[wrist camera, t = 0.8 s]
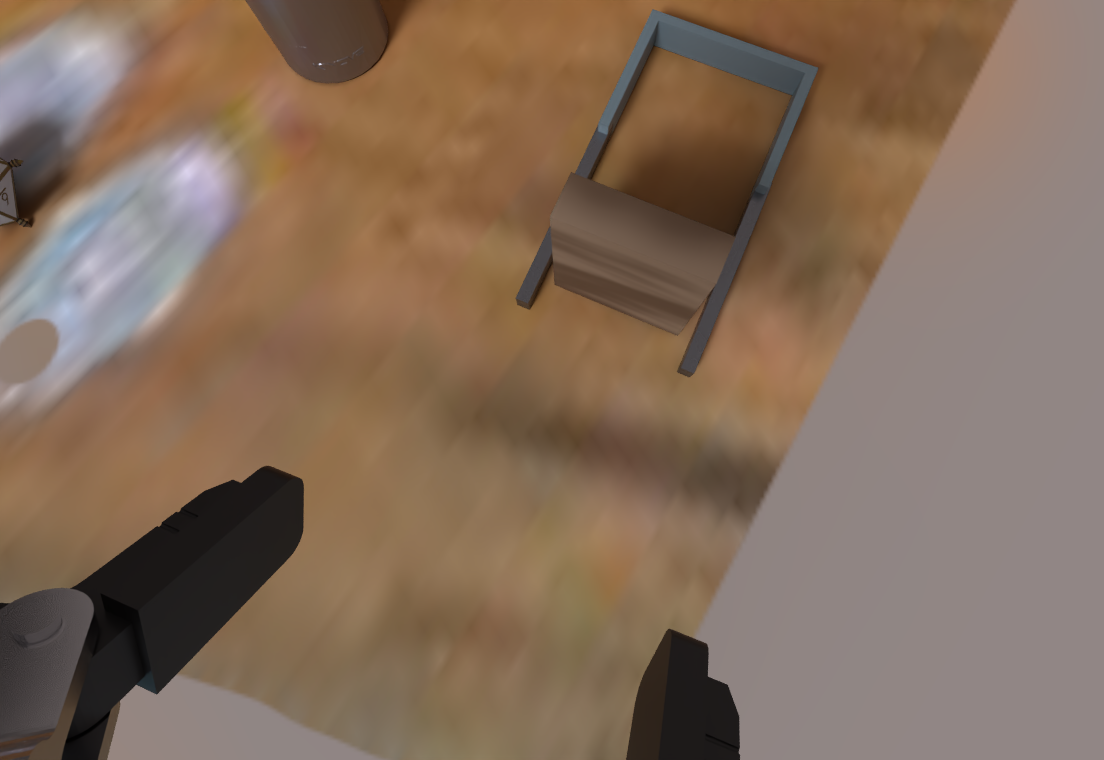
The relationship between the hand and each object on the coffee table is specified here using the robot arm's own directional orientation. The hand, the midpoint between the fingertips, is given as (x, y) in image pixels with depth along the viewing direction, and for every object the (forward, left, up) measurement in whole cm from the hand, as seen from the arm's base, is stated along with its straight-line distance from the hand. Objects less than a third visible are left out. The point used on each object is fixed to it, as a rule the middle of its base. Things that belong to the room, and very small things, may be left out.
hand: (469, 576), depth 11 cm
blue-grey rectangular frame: (-24, +23, -29) cm, 44 cm away
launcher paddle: (-13, +11, -29) cm, 33 cm away
